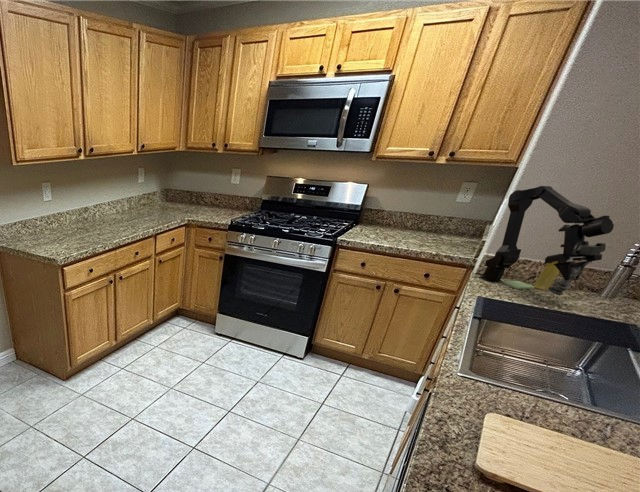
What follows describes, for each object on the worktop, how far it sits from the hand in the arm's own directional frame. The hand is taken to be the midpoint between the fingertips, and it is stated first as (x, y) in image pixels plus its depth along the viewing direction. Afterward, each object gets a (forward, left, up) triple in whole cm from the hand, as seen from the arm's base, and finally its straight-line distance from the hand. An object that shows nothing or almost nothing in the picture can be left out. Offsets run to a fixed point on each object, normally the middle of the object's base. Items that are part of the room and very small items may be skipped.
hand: (571, 280), depth 166 cm
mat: (-23, +7, -11) cm, 26 cm away
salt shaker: (-3, 0, -6) cm, 7 cm away
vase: (-19, +16, -11) cm, 27 cm away
